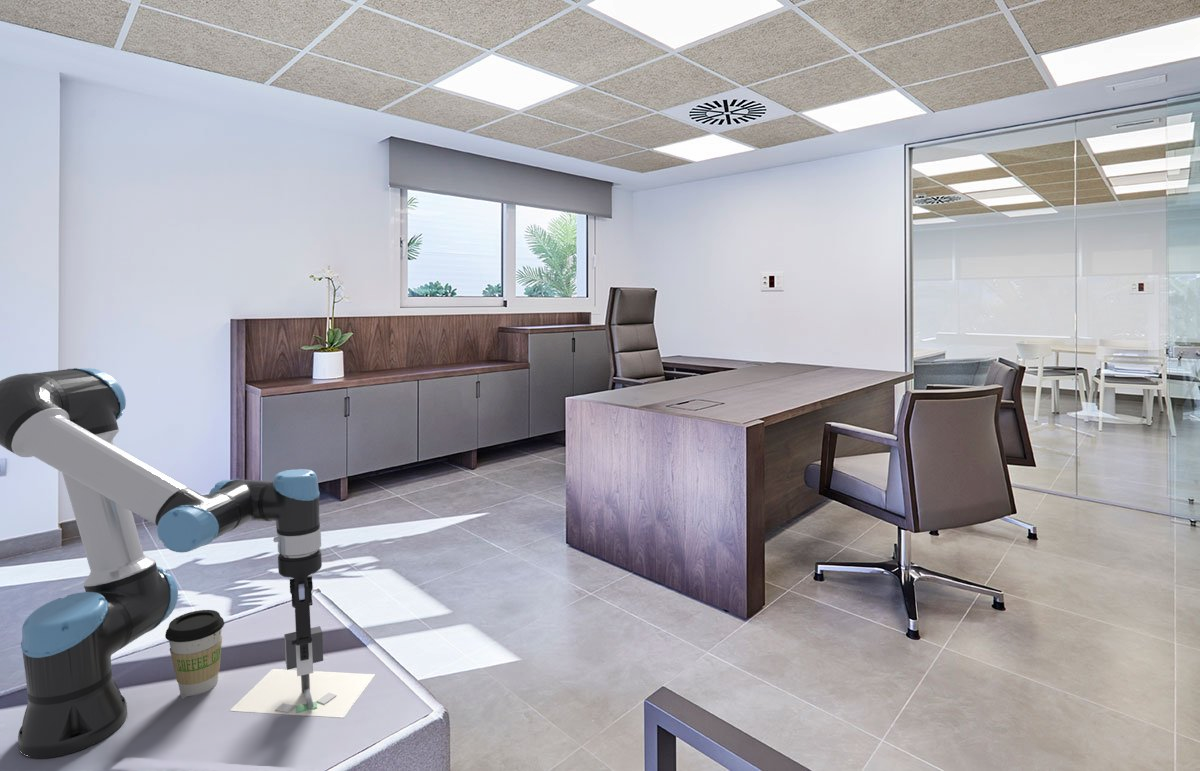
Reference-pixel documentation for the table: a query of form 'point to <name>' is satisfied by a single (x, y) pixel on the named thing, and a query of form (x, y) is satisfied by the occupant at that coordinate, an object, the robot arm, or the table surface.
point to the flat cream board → (286, 697)
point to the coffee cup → (196, 650)
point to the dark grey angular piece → (316, 653)
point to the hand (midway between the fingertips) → (304, 655)
